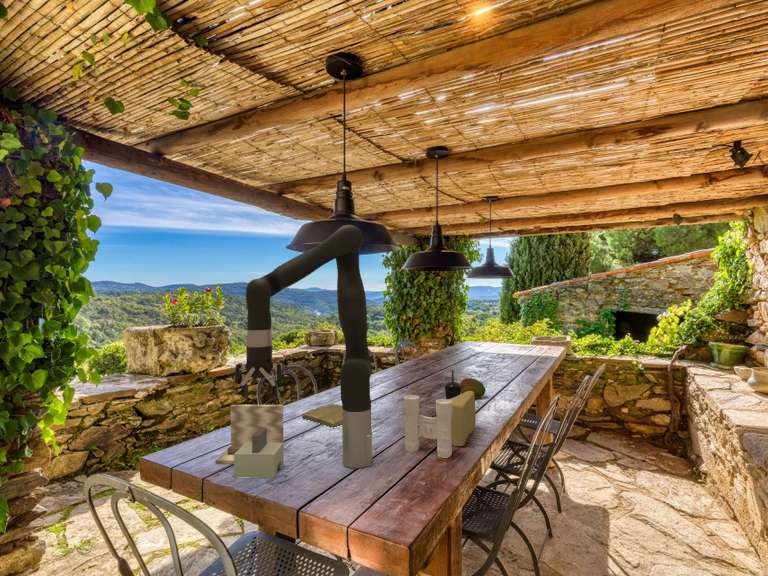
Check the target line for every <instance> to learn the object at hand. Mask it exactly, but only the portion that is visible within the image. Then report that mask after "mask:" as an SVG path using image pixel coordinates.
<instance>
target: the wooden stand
mask: <svg viewBox="0 0 768 576" xmlns="http://www.w3.org/2000/svg"><path fill="white" fill-rule="evenodd" d="M260 428H267V443H283V444H284V404H231V405H230V446H229V447H228V448H227V449H226V450H225V451H224V452H223V453H222V454H221V455H220V456H219V457H218V458H216V459H215V461H214V463H216V464H217V465H218V464H219V465H220V464H222V465H234V454H235V453H236V452H237V451H238V450H239V449H240V448H241V447H242V446H243V445H244V444H245V443H252V435H253V434H254V433H255V432H257V431H258V430H259V429H260Z"/></svg>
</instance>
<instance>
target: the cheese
mask: <svg viewBox="0 0 768 576" xmlns="http://www.w3.org/2000/svg"><path fill="white" fill-rule="evenodd" d="M475 399H476V398H475V396H474V392H473V391H467V392H465V393H463V394H462V393H461V395H458V396H456V397H454V398H451V399H448V400H451V401H452V418H451V443H452V444H453V445H459V446H463V445H464V446H465V444H466V442H467V439H468V438H469V436H470V435H471V434H472V433H473V432H474V431H473V429H474V428H475V429H476V400H475ZM475 429H474V430H475ZM472 431H473V432H472ZM471 432H472V433H471ZM470 433H471V434H470ZM469 434H470V435H469ZM468 435H469V436H468ZM467 437H468V438H467ZM465 441H466V442H465ZM464 446H463V447H464Z"/></svg>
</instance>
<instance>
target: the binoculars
mask: <svg viewBox="0 0 768 576" xmlns="http://www.w3.org/2000/svg"><path fill="white" fill-rule="evenodd" d="M403 412H404V418H405V419H404V420H405V421H404V422H405V423H404V425H405V426H404V428H405V429H404V436H405V437H404V447H405V449H406V450H407V451H417V450H418V449H419V446H420V440H419V438H422V437H423V438H424V439H428V440H436V441H437V445H436V453H437V457H438V456H439V457H442V458H448V457H450V456H451V455H452V452H453V446H452V443H451V418H452V401H451V400H448V399H446V398H441V399H436V400H435V414H436V417H431V416H430V417H429V416H426V415H423V414H419V413H420V396H419V395H415V394H408V395H404V396H403ZM405 449H404V450H405ZM406 450H405V451H406ZM419 450H420V449H419ZM419 450H418V451H419ZM407 451H406V452H407ZM418 451H417V452H418ZM452 456H453V455H452ZM439 457H438V458H439Z"/></svg>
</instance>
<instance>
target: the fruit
mask: <svg viewBox="0 0 768 576" xmlns="http://www.w3.org/2000/svg"><path fill="white" fill-rule="evenodd" d="M460 384H462V386H461V394H463V393H465V392H467V391H473V392H474V396H475V399H478V398H477V397H479V398H481V397H483V396H484V395H485V393H487V392H486V390H487V389H486V386H485V385H484V383H482V382H481V381H480V380H477V379H474V378H472V377H467V378H464V379H462V380H461V381H460Z"/></svg>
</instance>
